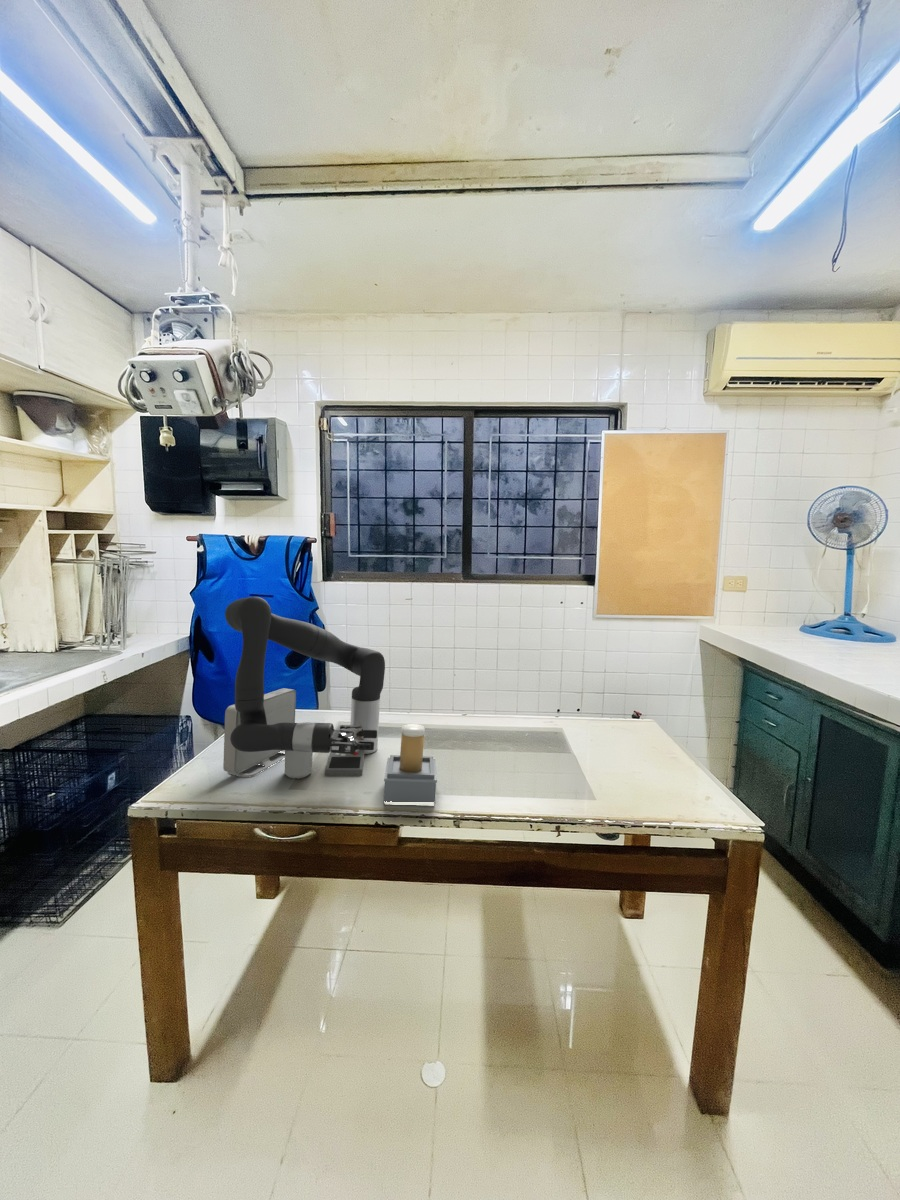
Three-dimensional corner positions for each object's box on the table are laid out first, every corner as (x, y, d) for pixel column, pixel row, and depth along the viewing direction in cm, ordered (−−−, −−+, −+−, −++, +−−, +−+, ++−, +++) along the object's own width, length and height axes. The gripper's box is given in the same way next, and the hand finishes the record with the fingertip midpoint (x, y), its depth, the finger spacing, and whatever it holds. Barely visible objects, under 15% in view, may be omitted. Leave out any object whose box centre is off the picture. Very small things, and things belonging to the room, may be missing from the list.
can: (303, 781, 128) (305, 738, 127) (278, 777, 130) (280, 735, 129) (316, 770, 135) (318, 730, 135) (293, 766, 137) (294, 727, 136)
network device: (240, 783, 125) (243, 710, 123) (214, 777, 127) (217, 705, 126) (299, 751, 149) (302, 689, 148) (276, 746, 152) (279, 686, 150)
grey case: (386, 781, 131) (388, 754, 130) (433, 783, 132) (435, 755, 131) (382, 805, 118) (384, 774, 117) (435, 807, 118) (437, 776, 118)
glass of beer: (399, 763, 127) (402, 723, 127) (422, 764, 128) (425, 724, 127) (398, 772, 121) (400, 731, 121) (422, 773, 121) (424, 732, 121)
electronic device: (364, 748, 149) (362, 768, 134) (364, 756, 149) (362, 776, 134) (331, 748, 147) (325, 768, 133) (330, 756, 148) (324, 777, 133)
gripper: (307, 732, 115) (373, 735, 116) (319, 715, 129) (378, 717, 130) (306, 762, 115) (372, 764, 116) (318, 741, 129) (377, 743, 131)
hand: (375, 739), depth 123 cm, fingers open, 8 cm apart
